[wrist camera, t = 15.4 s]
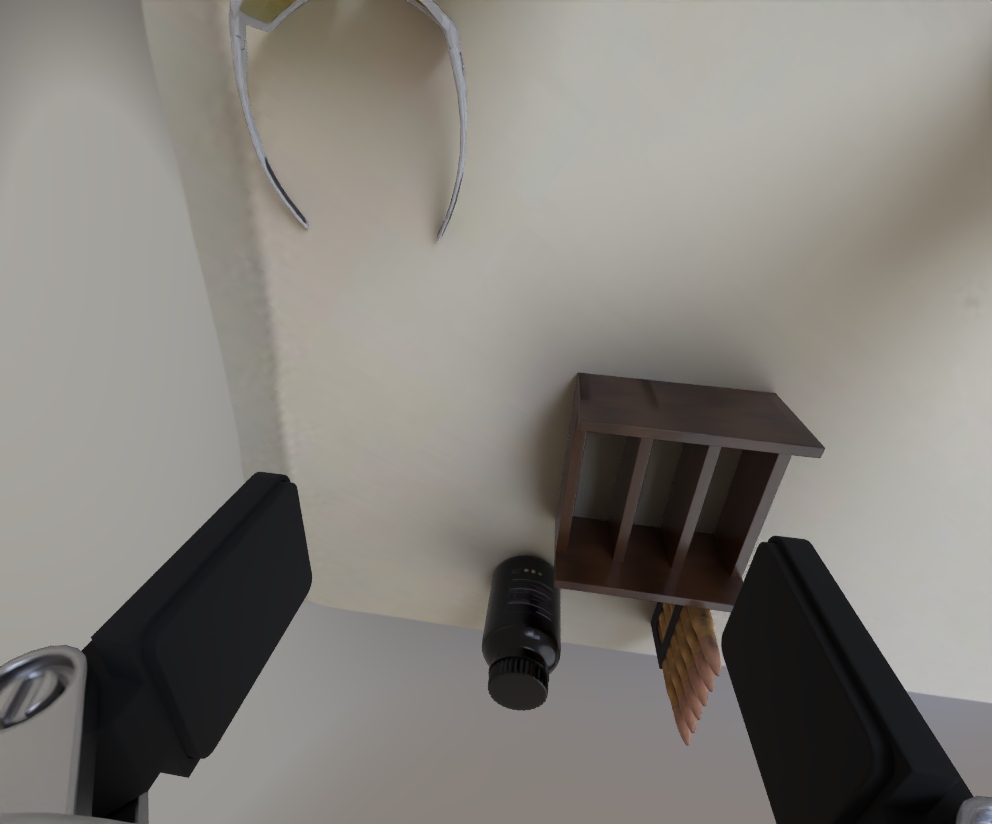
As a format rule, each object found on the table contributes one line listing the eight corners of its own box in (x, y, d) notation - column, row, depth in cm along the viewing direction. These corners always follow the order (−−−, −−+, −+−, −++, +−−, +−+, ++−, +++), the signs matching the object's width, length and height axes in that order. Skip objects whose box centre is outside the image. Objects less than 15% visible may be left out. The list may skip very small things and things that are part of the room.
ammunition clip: (668, 627, 49) (696, 753, 39) (650, 624, 50) (672, 749, 39) (695, 548, 44) (735, 669, 34) (674, 545, 45) (708, 665, 34)
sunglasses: (479, -38, 27) (462, -56, 23) (473, 234, 36) (460, 256, 32) (242, -48, 28) (187, -67, 24) (292, 218, 37) (258, 237, 33)
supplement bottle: (551, 609, 50) (548, 727, 40) (488, 593, 50) (467, 708, 40) (568, 561, 47) (569, 677, 37) (500, 545, 47) (481, 656, 37)
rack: (776, 392, 37) (825, 448, 30) (721, 542, 44) (751, 615, 37) (577, 372, 38) (580, 420, 31) (555, 520, 45) (553, 587, 38)
